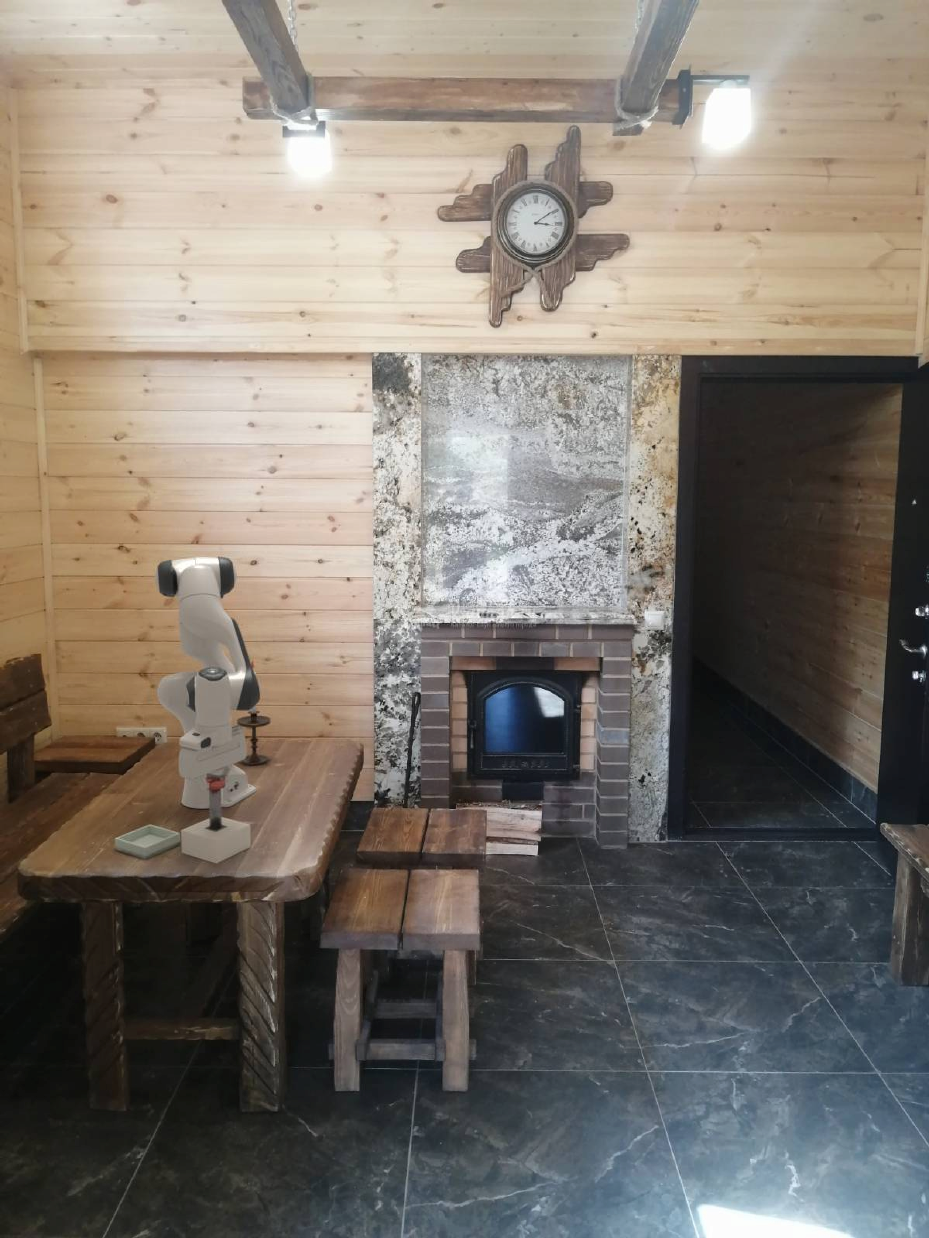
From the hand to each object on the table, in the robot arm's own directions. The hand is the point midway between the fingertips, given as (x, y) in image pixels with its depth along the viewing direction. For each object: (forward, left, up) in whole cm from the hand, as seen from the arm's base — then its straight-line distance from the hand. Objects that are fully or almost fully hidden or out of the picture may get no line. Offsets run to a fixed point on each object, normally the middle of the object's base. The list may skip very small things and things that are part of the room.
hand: (214, 785), depth 225 cm
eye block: (0, 0, -17) cm, 17 cm away
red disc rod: (0, 0, -11) cm, 11 cm away
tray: (+8, -16, -17) cm, 25 cm away
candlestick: (-59, -42, -17) cm, 74 cm away
